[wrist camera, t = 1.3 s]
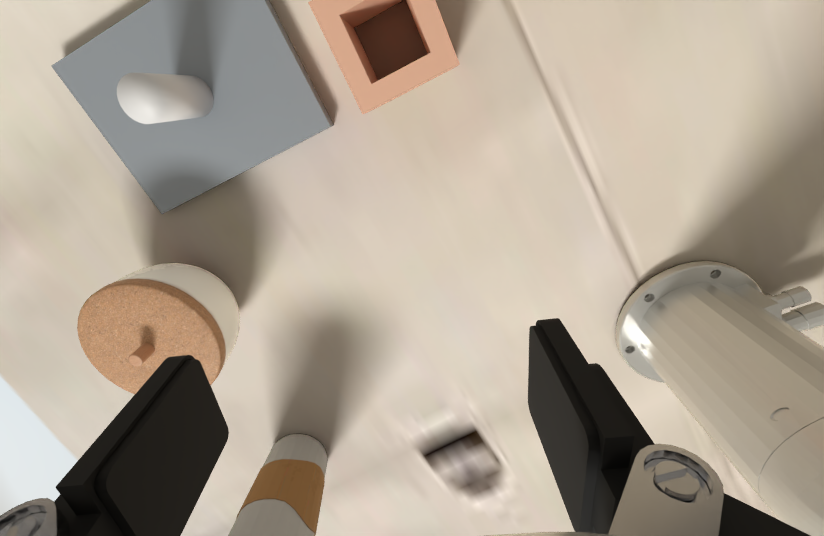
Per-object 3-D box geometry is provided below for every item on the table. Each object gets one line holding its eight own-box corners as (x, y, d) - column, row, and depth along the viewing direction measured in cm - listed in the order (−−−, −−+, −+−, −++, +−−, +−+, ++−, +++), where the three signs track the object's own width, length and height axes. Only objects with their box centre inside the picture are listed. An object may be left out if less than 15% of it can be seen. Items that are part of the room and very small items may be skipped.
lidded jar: (118, 263, 36) (24, 318, 27) (223, 229, 34) (157, 276, 26) (181, 356, 40) (116, 429, 32) (277, 330, 39) (236, 399, 30)
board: (243, -50, 26) (184, -95, 20) (333, 124, 31) (310, 135, 24) (65, 66, 29) (-38, 60, 23) (170, 210, 34) (109, 239, 27)
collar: (414, -32, 27) (412, -60, 22) (452, 68, 29) (459, 64, 24) (328, 17, 28) (308, 2, 23) (372, 109, 30) (362, 114, 25)
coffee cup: (249, 438, 45) (173, 593, 31) (313, 416, 43) (263, 568, 29) (289, 485, 48) (236, 645, 34) (350, 466, 46) (320, 625, 32)
